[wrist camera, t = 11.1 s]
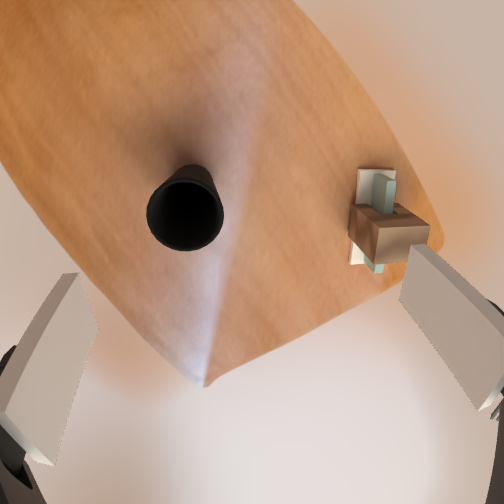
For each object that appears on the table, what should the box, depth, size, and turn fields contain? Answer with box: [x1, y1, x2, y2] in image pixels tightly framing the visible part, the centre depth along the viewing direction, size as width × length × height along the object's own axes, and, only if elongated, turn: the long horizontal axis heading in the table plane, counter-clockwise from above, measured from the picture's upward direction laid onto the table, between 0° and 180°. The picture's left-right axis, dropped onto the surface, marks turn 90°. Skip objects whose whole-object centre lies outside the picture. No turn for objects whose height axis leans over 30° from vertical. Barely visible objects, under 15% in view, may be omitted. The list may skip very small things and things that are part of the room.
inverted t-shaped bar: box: [349, 169, 396, 273], centre depth 44 cm, size 15×6×5 cm, turn 1°
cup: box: [146, 165, 224, 251], centre depth 36 cm, size 8×8×12 cm
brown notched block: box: [348, 203, 430, 265], centre depth 41 cm, size 5×8×9 cm, turn 91°
